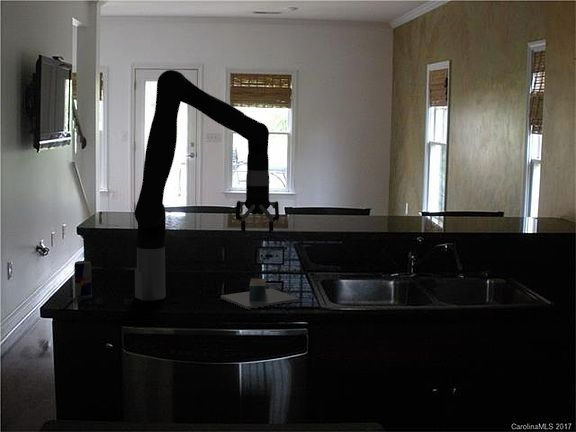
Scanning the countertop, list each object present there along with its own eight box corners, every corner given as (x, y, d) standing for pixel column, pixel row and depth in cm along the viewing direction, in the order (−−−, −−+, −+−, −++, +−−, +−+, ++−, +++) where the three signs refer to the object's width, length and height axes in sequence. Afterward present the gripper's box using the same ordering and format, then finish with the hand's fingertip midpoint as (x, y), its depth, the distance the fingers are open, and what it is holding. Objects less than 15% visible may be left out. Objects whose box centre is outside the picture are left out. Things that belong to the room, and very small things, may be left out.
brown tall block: (251, 293, 272) (249, 301, 261) (251, 278, 272) (249, 285, 261) (265, 293, 272) (264, 301, 261) (265, 278, 272) (264, 286, 261)
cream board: (246, 309, 255) (246, 306, 254) (220, 298, 269) (220, 295, 268) (299, 301, 266) (299, 298, 265) (271, 291, 280) (271, 288, 279)
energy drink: (75, 300, 265) (74, 264, 263) (75, 296, 270) (74, 261, 268) (92, 299, 266) (91, 263, 265) (91, 295, 271) (90, 260, 270)
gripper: (235, 184, 261) (234, 234, 263) (279, 185, 261) (278, 234, 263) (236, 182, 268) (236, 230, 271) (279, 182, 268) (279, 231, 271)
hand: (257, 232), depth 267 cm, fingers open, 8 cm apart
